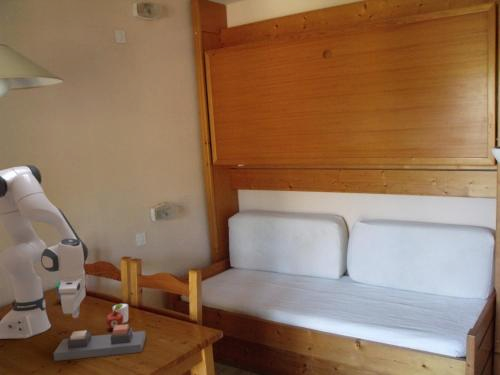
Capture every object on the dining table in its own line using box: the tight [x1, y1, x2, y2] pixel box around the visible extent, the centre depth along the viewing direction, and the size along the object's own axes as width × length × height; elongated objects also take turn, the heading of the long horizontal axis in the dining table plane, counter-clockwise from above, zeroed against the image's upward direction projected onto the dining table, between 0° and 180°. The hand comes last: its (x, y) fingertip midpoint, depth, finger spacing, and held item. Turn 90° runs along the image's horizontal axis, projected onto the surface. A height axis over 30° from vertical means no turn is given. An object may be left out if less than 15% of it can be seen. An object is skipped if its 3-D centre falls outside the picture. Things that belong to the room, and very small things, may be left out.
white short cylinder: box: [111, 303, 129, 324], centre depth 221 cm, size 7×7×7 cm
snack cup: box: [54, 281, 61, 303], centre depth 252 cm, size 16×10×10 cm
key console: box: [53, 327, 147, 362], centre depth 193 cm, size 32×13×6 cm, turn 95°
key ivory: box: [69, 330, 88, 340], centre depth 192 cm, size 5×5×3 cm
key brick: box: [112, 323, 130, 336], centre depth 193 cm, size 5×5×3 cm
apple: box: [105, 303, 123, 330], centre depth 213 cm, size 8×7×10 cm
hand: (76, 316), depth 191 cm, fingers closed
